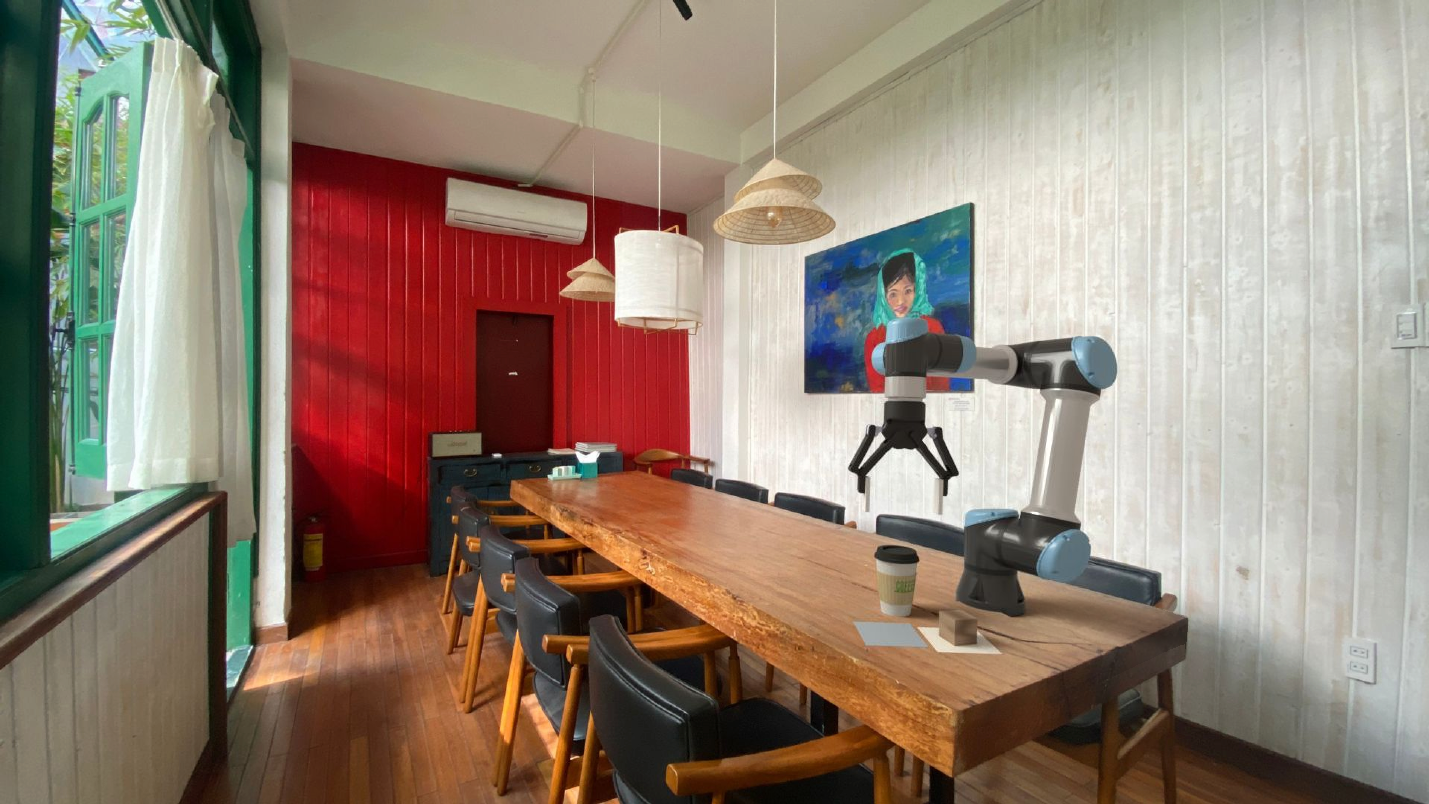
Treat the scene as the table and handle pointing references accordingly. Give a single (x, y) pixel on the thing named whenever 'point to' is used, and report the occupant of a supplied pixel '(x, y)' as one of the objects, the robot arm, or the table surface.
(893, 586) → the coffee cup
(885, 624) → the pad
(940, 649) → the pad
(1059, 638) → the table surface
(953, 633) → the walnut block
